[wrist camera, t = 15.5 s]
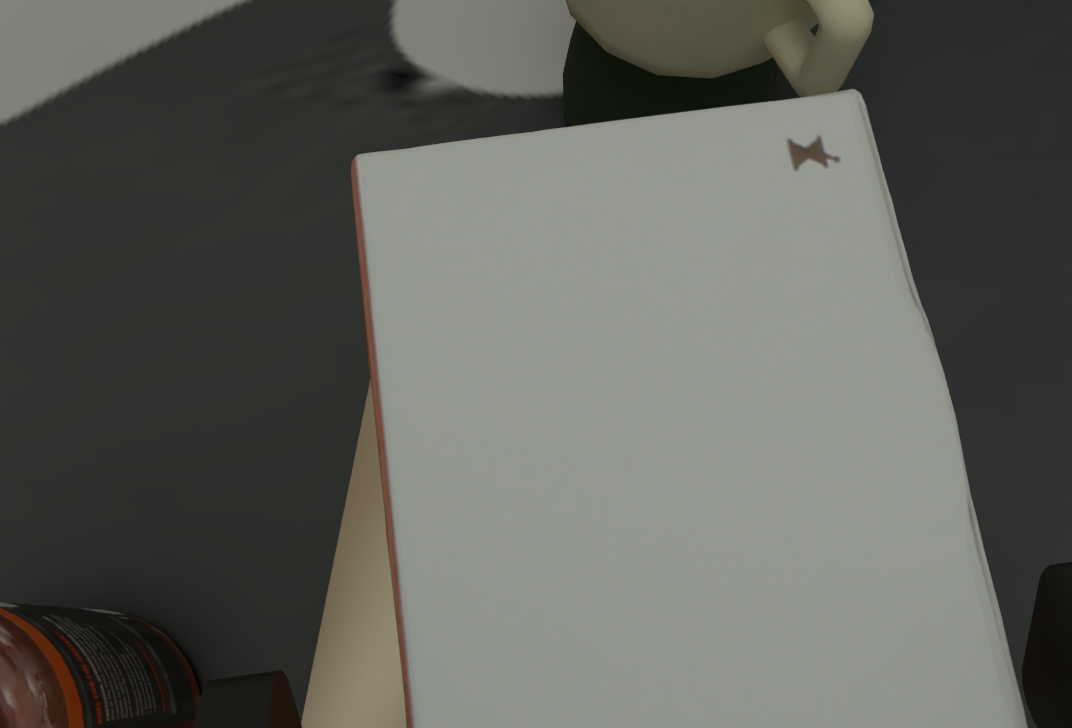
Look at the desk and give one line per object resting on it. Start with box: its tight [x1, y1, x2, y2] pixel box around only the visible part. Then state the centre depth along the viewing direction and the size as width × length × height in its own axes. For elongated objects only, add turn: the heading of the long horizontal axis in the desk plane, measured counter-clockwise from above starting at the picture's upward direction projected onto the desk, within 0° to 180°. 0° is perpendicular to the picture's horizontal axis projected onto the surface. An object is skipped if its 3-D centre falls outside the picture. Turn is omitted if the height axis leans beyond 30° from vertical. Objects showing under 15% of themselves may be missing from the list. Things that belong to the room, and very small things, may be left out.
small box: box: [351, 89, 1028, 728], centre depth 17 cm, size 8×6×13 cm
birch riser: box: [301, 380, 407, 728], centre depth 26 cm, size 11×11×5 cm
